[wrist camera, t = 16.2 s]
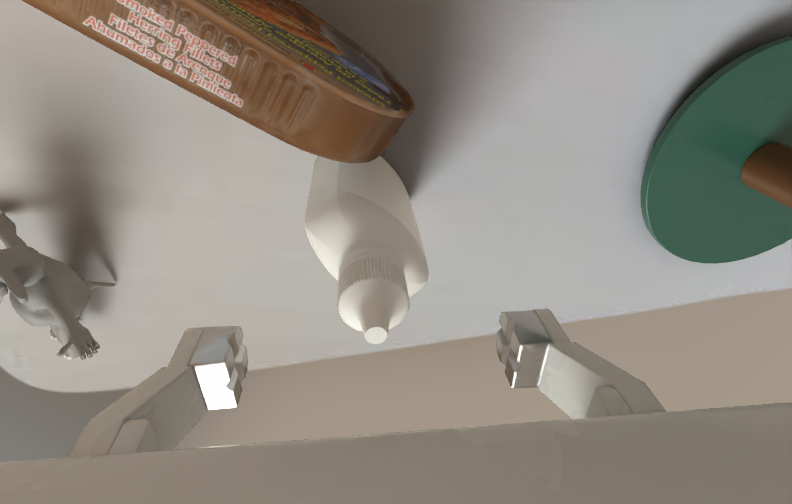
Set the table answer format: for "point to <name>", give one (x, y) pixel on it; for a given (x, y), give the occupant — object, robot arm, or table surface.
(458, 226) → the table surface
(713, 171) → the lid
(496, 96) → the table surface
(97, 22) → the tin
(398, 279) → the eye dropper bottle
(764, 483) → the robot arm
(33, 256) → the grey creature figurine
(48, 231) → the table surface
